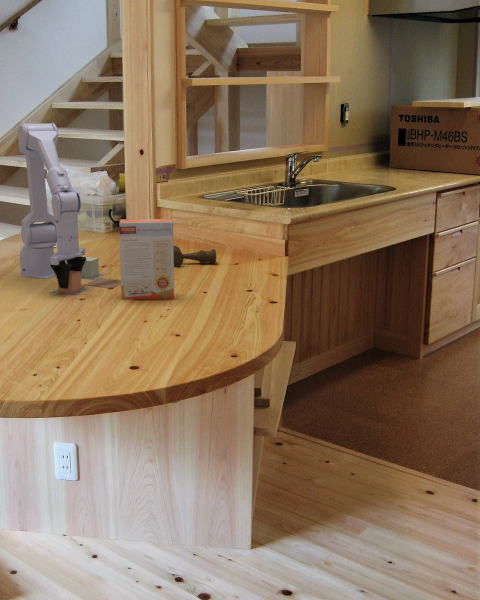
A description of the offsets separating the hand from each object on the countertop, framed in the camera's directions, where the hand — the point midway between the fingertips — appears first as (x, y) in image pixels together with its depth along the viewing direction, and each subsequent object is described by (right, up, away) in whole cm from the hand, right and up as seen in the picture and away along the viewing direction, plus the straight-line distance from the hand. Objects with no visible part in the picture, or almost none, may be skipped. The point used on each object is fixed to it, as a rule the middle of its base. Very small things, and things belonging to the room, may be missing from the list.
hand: (69, 285), depth 215 cm
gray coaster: (+2, +3, +17) cm, 18 cm away
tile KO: (0, -2, 0) cm, 2 cm away
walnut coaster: (+8, +1, +9) cm, 12 cm away
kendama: (+29, +7, +36) cm, 47 cm away
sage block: (+2, +3, +17) cm, 18 cm away
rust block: (0, -1, 0) cm, 1 cm away
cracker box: (+22, -3, -4) cm, 22 cm away
